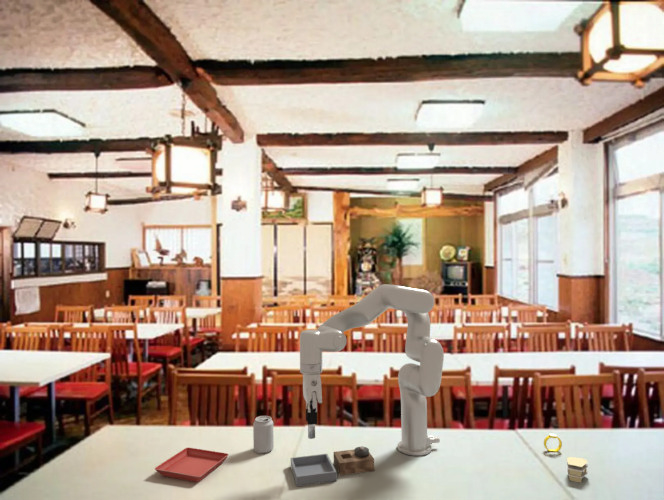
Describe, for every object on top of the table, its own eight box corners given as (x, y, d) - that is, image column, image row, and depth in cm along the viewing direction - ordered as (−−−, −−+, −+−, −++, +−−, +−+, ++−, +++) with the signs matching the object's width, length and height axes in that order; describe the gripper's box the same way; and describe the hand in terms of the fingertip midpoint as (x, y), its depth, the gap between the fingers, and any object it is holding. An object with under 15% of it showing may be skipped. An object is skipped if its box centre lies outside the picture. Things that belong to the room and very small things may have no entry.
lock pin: (314, 435, 154) (314, 405, 155) (315, 438, 152) (315, 408, 152) (307, 436, 154) (307, 406, 154) (308, 439, 152) (308, 408, 152)
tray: (327, 462, 161) (327, 453, 161) (336, 481, 148) (336, 471, 148) (290, 466, 158) (290, 457, 158) (296, 486, 145) (296, 476, 145)
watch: (546, 452, 166) (545, 436, 166) (542, 449, 169) (542, 433, 169) (562, 452, 166) (562, 436, 166) (559, 449, 169) (559, 433, 169)
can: (269, 455, 168) (269, 422, 168) (250, 453, 169) (250, 421, 169) (276, 446, 175) (275, 415, 175) (257, 445, 176) (257, 414, 177)
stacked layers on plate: (592, 489, 141) (592, 471, 141) (560, 481, 146) (559, 464, 146) (593, 475, 149) (593, 458, 150) (563, 468, 154) (563, 452, 154)
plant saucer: (229, 462, 163) (229, 452, 163) (199, 486, 146) (199, 476, 146) (187, 455, 169) (186, 446, 169) (153, 478, 152) (153, 468, 152)
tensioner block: (366, 459, 163) (366, 441, 163) (374, 470, 154) (374, 452, 154) (333, 463, 160) (333, 445, 160) (340, 475, 152) (339, 456, 152)
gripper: (327, 372, 146) (327, 430, 146) (317, 361, 162) (317, 413, 162) (304, 374, 145) (304, 432, 144) (296, 362, 160) (296, 415, 160)
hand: (311, 421), depth 153 cm, fingers closed on lock pin, 2 cm apart
